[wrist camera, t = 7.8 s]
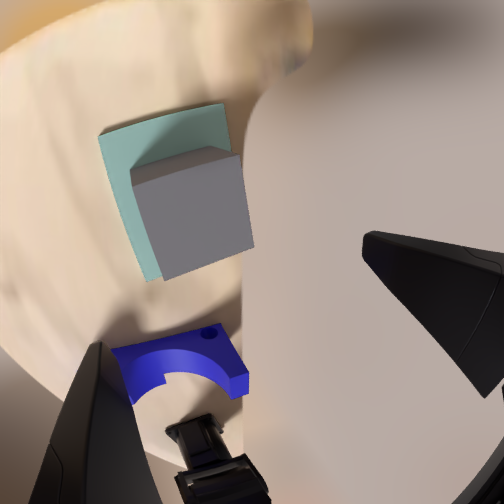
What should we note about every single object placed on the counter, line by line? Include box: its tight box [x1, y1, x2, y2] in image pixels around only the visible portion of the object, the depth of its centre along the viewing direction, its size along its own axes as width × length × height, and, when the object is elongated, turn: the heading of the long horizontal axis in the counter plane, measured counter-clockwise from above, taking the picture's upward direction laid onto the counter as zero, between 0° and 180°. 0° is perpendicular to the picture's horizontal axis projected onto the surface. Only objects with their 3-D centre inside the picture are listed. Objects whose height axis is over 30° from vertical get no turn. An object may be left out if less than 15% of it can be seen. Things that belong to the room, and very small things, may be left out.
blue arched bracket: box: [110, 323, 249, 405], centre depth 20 cm, size 12×4×6 cm, turn 88°
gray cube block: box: [130, 146, 254, 281], centre depth 14 cm, size 5×5×4 cm
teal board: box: [98, 103, 232, 282], centre depth 16 cm, size 10×8×1 cm
